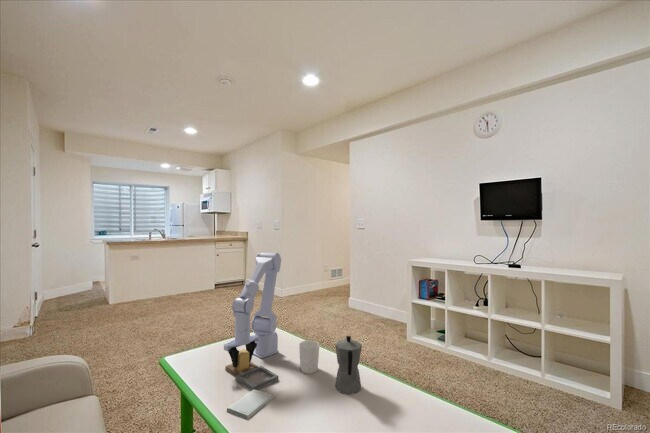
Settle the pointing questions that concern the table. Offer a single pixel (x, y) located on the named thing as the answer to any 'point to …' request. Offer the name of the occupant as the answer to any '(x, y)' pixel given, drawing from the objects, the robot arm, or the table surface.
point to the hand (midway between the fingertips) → (241, 363)
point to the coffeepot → (348, 366)
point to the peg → (243, 360)
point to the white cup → (309, 356)
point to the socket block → (235, 372)
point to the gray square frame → (261, 384)
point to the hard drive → (250, 403)
